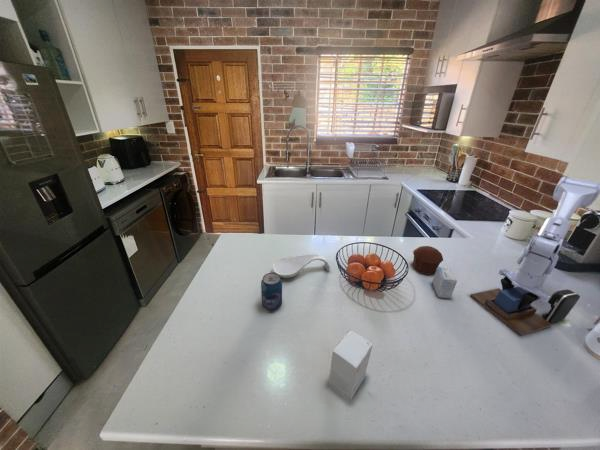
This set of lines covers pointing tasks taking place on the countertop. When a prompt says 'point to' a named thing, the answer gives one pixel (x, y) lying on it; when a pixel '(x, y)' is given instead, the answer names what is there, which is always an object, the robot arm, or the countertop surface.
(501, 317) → the mounting pad
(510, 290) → the blue block
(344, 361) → the small box
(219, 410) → the countertop surface
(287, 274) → the spoon rest
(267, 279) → the soda can
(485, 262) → the countertop surface
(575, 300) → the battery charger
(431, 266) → the muffin
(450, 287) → the medicine box
